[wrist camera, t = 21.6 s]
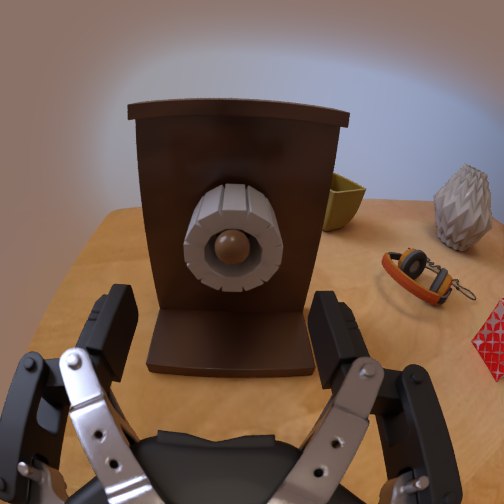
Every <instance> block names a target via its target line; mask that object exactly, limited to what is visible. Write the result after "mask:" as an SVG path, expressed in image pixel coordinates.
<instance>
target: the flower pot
mask: <svg viewBox="0 0 504 504" xmlns="http://www.w3.org/2000/svg"><path fill="white" fill-rule="evenodd" d="M365 191H366V189H365V188H363V187H362V186H360V185H358V184H357V183H354V182H353V181H351V180H348V179H347V178H344V177H342V176H340V175H338V174H335V173H333V177H332V182H331V188H330V193H329V199H328V204H327V209H326V214H325V219H324V224H323V230H324V231H330V230H334V229H338V228H342V227H344V226H345V225H346V224H347V223H349V222H350V221H351V219H352V218H353V217H354V216H355V214H356V212H357V211H358V208H359V206H360V204H361V201H362V199H363V196H364V193H365Z"/></svg>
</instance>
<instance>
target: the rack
mask: <svg viewBox="0 0 504 504" xmlns="http://www.w3.org/2000/svg"><path fill="white" fill-rule="evenodd" d="M349 117H350V113H349V112H345V111H341V110H337V109H333V108H326V107H321V106H314V105H307V104H299V103H291V102H281V101H270V100H258V99H238V98H190V99H169V100H155V101H145V102H139V103H133V104H129V105H128V120H132V119H135V121H136V144H137V160H138V172H139V183H140V192H141V202H142V210H143V218H144V225H145V232H146V239H147V245H148V251H149V257H150V262H151V268H152V273H153V278H154V283H155V288H156V293H157V298H158V302H159V307H160V310H159V314H158V318H157V321H156V325H155V329H154V333H153V337H152V341H151V345H150V349H149V353H148V357H147V361H146V365H147V367H148V370H149V371H150V372H157V373H167V374H177V375H191V376H208V377H286V376H303V375H312V374H313V372H314V369H315V363H314V358H313V354H312V350H311V345H310V341H309V337H308V332H307V328H306V324H305V320H304V316H303V309H304V305H305V301H306V297H307V293H308V289H309V285H310V281H311V277H312V273H313V269H314V265H315V260H316V256H317V252H318V247H319V243H320V238H321V233H322V229H323V224H324V219H325V214H326V209H327V204H328V199H329V193H330V188H331V182H332V177H333V171H334V165H335V159H336V152H337V145H338V140H339V133H340V127H346V128H348V124H349ZM226 184H245V189H246V188H247V187H248V185H249V186H251V187H252V188H254V189H256V190H257V191H259V192H261V193H262V194H264V196H265V198H267V199H268V201H269V202H270V204H271V206H272V208H273V210H274V212H275V216H276V220H277V224H278V227H279V231H280V235H281V239H282V242H283V243H282V244H283V253H282V259H281V265H279V269H278V270H277V271H276V272H275V273H274V274H273V276H272V277H271V278H270V279H269V280H268V281H267V282H266V281H264V280H263V282H264V284H262V285H260V286H257V287H255V288H252V289H250V290H247V291H245V289H244V288H242V292H226V291H222V287H221V288H220V289H219V290H216V289H214V288H212V287H210V286H208V285H205V284H203V283H201V279H199V280H198V279H197V278H196V277H195V276H194V274H193V273H192V272H191V271H190V269H189V268H188V267H187V263H186V262H185V257H184V245H183V244H184V241H185V237H186V234H187V231H188V227H189V224H190V221H191V218H192V215H193V212H194V209H195V208H196V206H197V204H198V203H199V201H200V199H201V198H202V196H205V194H206V193H207V192H208V191H210V190H212V189H214V188H216V187H218V186H220V185H223V187H224V188H225V185H226ZM215 235H216V236H217V237H218V238H217V239H216V242H215V253H216V255H217V257H218V258H219V259H220V260H221V261H222V262H223V263H225V264H228V265H236V264H239V263H241V262H243V261H244V260H245V259H246V258H247V256H248V254H249V251H250V243H249V240H248V238H250V237H251V236H252V235H250V234H249V233H247V232H245V231H243V230H234V229H225V230H223V231H221V232H219V233H217V234H215Z"/></svg>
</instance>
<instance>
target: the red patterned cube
mask: <svg viewBox="0 0 504 504" xmlns="http://www.w3.org/2000/svg"><path fill="white" fill-rule="evenodd" d="M471 342H472V343H473V345H474V346H475V348H476V349H477V351H478V352H479V354H480V355H481V357H482V359H483V360H484V362H485V363H486V365H487V367H488V368H489V370H490V372H491V373H492V375H493V377H494V379H495V380H496V382H498V381H499V380H500V379H502V378H503V377H504V298H502V299H500V301H499V302H498V304H497V305H496V307H495V309H494V310H493V312H492V313H491V315H490V316H489V318H488V319H487V321H486V322H485V323H484V325H483V326H482V328H481V329H480V330H479V332H478V333H477V335H476V336H475V337H474V339H473V340H472V341H471Z"/></svg>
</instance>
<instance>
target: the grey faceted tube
mask: <svg viewBox="0 0 504 504" xmlns="http://www.w3.org/2000/svg"><path fill="white" fill-rule="evenodd" d="M225 229H234V230H243V231H245V232H247V233H249V234H250V235H252V236H251V237H250V238H248V240H249V243H250V251H249V254H248V256H247V258H246V259H245V260H244V261H243V262H241V263H239V264H236V265H228V264H225V263H223V262H222V261H221V260H220V259H219V258H218V257H217V255H216V253H215V242H216V239H217V238H218V237H217V236H216V235H215V234H217V233H219V232H221V231H223V230H225ZM282 243H283V242H282V239H281V235H280V231H279V227H278V224H277V220H276V216H275V212H274V210H273V208H272V206H271V204H270V202H269V201H268V199H267V198H265V196H264V194H262V193H261V192H259V191H257V190H256V189H254V188H252V187H251V186H249V185H248V187H247V188H246V189H245V184H226V185H225V188H224V187H223V185H220V186H218V187H216V188H214V189H212V190H210V191H208V192H207V193H206V194H205V196H202V198H201V199H200V201H199V203H198V204H197V206H196V208H195V209H194V212H193V215H192V218H191V221H190V224H189V227H188V231H187V234H186V237H185V241H184V244H183V245H184V257H185V262H186V263H187V267H188V268H189V269H190V271H191V272H192V273H193V274H194V276H195V277H196V278H197V279H198V280H199V279H201V283H203V284H205V285H208V286H210V287H212V288H214V289H216V290H219V289H220V288H221V287H222V291H226V292H242V288H244V289H245V291H247V290H250V289H252V288H255V287H257V286H260V285H262V284H264V282H263V280H264V281H266V282H267V281H268V280H269V279H270V278H271V277H272V276H273V274H274V273H275V272H276V271H277V270H278V269H279V265H281V259H282V253H283V244H282Z"/></svg>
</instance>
